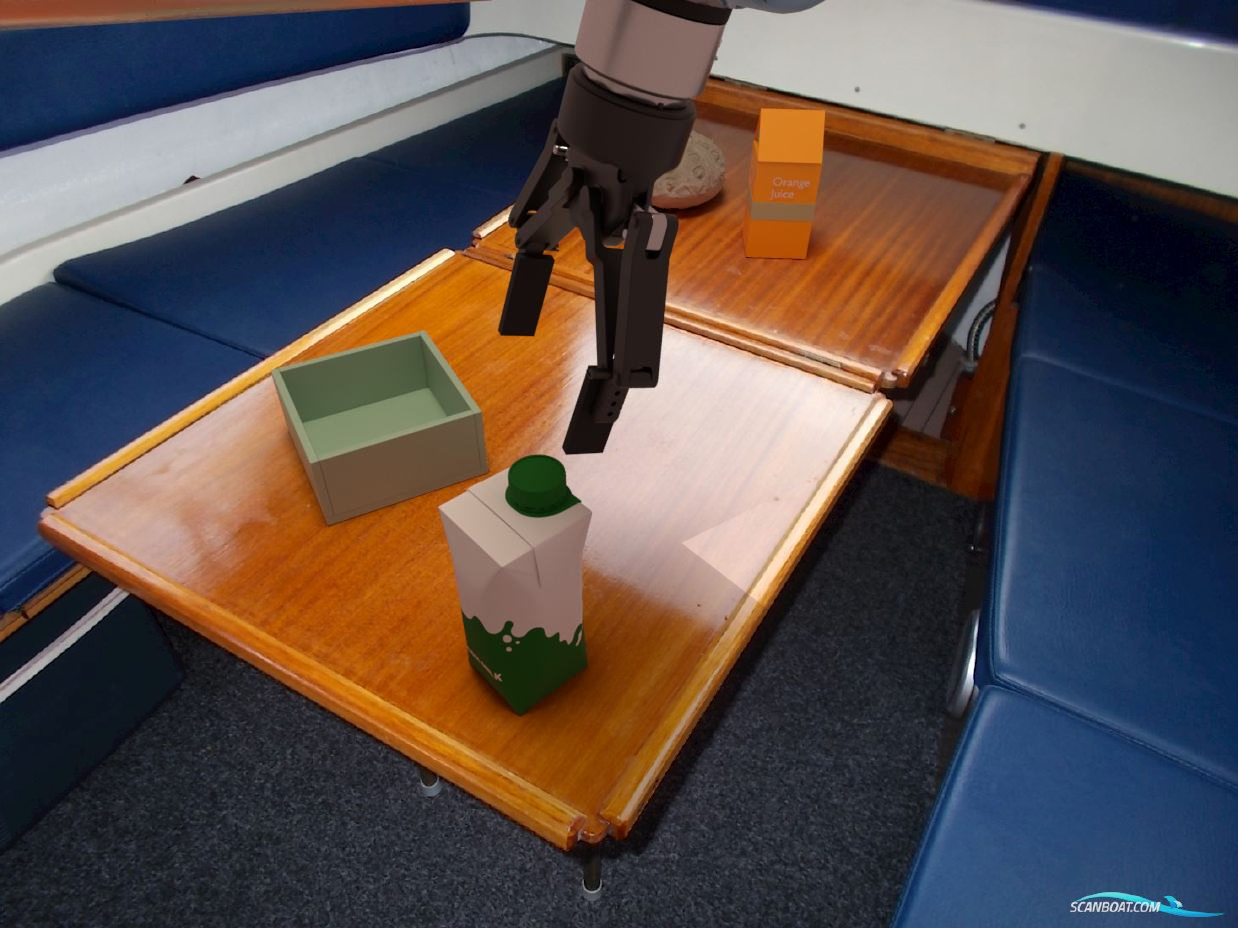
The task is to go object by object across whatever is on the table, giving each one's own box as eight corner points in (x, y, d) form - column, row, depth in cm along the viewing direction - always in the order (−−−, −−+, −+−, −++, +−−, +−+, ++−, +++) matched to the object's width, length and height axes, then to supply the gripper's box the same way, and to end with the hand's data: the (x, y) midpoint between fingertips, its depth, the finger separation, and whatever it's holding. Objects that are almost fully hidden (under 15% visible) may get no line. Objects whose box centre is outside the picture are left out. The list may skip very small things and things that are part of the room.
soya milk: (603, 667, 71) (605, 489, 58) (515, 732, 66) (495, 555, 53) (537, 605, 76) (525, 428, 63) (451, 661, 71) (418, 483, 58)
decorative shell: (654, 231, 131) (657, 167, 125) (592, 190, 142) (592, 129, 136) (744, 205, 139) (752, 143, 132) (679, 167, 150) (683, 109, 143)
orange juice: (741, 234, 131) (757, 98, 118) (799, 236, 131) (822, 100, 118) (745, 258, 125) (762, 119, 112) (806, 260, 125) (830, 121, 112)
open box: (328, 526, 83) (309, 463, 78) (288, 430, 94) (270, 369, 88) (488, 472, 89) (481, 411, 84) (434, 388, 100) (424, 329, 95)
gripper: (809, 190, 42) (668, 505, 54) (609, 21, 58) (536, 295, 70) (679, 172, 38) (561, 515, 51) (504, -3, 54) (447, 291, 67)
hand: (546, 388), depth 61 cm, fingers open, 13 cm apart
